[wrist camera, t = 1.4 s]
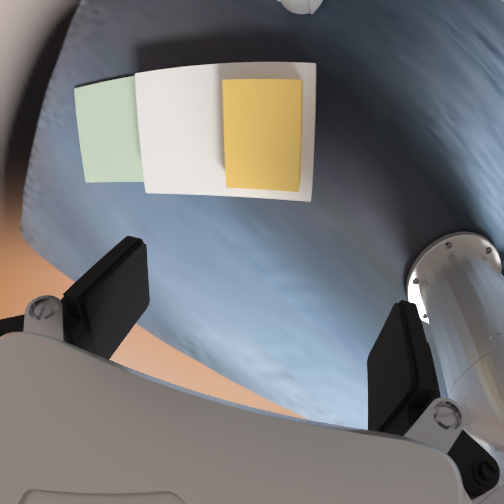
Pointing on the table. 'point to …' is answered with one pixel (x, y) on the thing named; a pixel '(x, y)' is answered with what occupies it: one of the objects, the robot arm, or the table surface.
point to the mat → (109, 131)
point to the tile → (263, 133)
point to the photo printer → (301, 5)
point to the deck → (208, 127)
